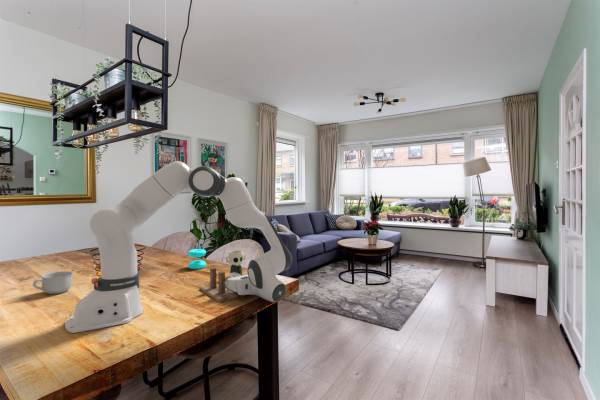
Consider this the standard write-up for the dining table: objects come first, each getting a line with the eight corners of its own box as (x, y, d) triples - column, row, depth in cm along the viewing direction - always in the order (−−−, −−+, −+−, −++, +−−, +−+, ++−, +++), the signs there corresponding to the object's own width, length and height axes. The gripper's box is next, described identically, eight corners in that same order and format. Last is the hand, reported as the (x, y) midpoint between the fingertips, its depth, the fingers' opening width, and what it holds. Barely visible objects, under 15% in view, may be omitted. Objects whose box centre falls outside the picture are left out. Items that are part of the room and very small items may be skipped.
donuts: (194, 252, 164) (184, 250, 170) (195, 270, 164) (184, 267, 170) (209, 249, 172) (199, 248, 178) (209, 266, 172) (199, 264, 178)
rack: (219, 302, 117) (218, 276, 116) (199, 289, 132) (199, 267, 132) (237, 297, 122) (237, 273, 122) (216, 285, 137) (216, 264, 137)
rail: (246, 290, 127) (246, 281, 127) (229, 281, 139) (229, 273, 139) (252, 288, 129) (252, 279, 129) (235, 280, 141) (235, 272, 141)
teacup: (68, 286, 137) (68, 269, 137) (77, 290, 131) (76, 272, 131) (28, 295, 126) (28, 276, 126) (36, 300, 120) (35, 280, 119)
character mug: (229, 280, 146) (229, 254, 145) (223, 277, 151) (222, 251, 151) (248, 276, 153) (248, 251, 152) (242, 273, 158) (241, 249, 158)
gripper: (277, 271, 129) (260, 265, 140) (235, 280, 116) (220, 273, 127) (277, 285, 130) (260, 278, 140) (235, 296, 116) (220, 287, 127)
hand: (241, 276), depth 133 cm, fingers open, 8 cm apart
